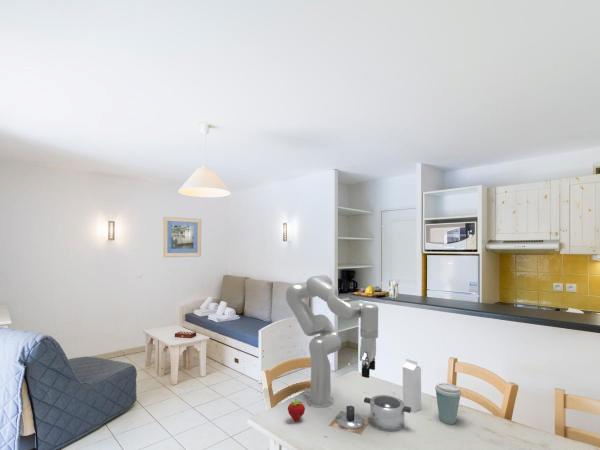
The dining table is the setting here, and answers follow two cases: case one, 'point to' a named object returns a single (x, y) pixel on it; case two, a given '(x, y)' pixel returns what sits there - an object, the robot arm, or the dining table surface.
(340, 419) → the lid
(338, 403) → the dining table surface
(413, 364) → the milk
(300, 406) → the strawberry
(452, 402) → the disposable coffee cup
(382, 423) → the pot
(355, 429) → the trivet
